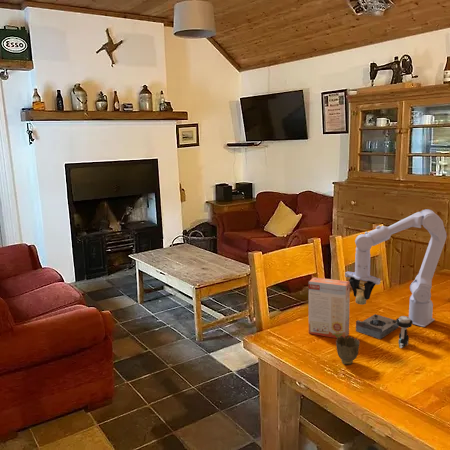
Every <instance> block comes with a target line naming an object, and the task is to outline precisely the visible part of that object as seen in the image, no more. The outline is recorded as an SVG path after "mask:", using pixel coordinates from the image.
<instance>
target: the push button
mask: <svg viewBox="0 0 450 450" xmlns="http://www.w3.org/2000/svg"><path fill="white" fill-rule="evenodd" d="M395 320H396V322H397V325H398V326H399V328H400V332H399V334H398V347H399V348H400V349H402V348H405V347H406V346H409V342H410V341H409V337H410V336H409V334H408V329H409V328H411V327H412V325H413V324H412V323H413V321H412V320H410V318H409V316H405V315H401V316H399V317H397V318H396V319H395Z"/></svg>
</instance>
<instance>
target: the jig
mask: <svg viewBox="0 0 450 450" xmlns="http://www.w3.org/2000/svg"><path fill="white" fill-rule="evenodd" d="M398 328H399V329H400V327H399V326H398V325H397V322H396V319H393V318H391V317H386V316H383V315H379V314H376V313H375V314H373V315H371V316H368V317H367V318H366V319H364V320H359V319H358V320H356V321H355V332H357V333H361V334H364V335H367V336H369V337H373V338H376V339H377V340H378V339H379V340H381V339H383V338H384V337H386V336H387V335H389V334H391V333H392V332H394V331H396V330H397V329H398Z"/></svg>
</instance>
